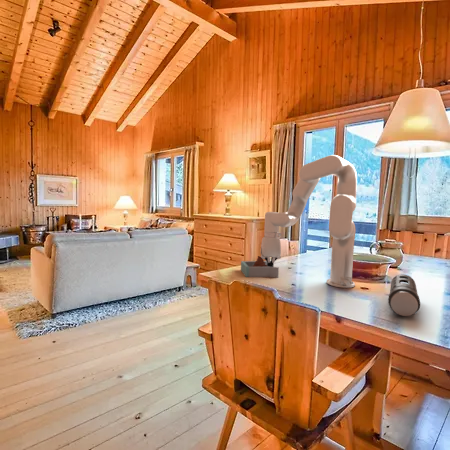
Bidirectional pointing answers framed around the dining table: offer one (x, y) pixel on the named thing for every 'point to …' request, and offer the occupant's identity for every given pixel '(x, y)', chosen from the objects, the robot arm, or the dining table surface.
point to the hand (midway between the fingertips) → (270, 269)
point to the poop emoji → (259, 263)
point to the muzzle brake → (403, 296)
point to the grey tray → (258, 270)
